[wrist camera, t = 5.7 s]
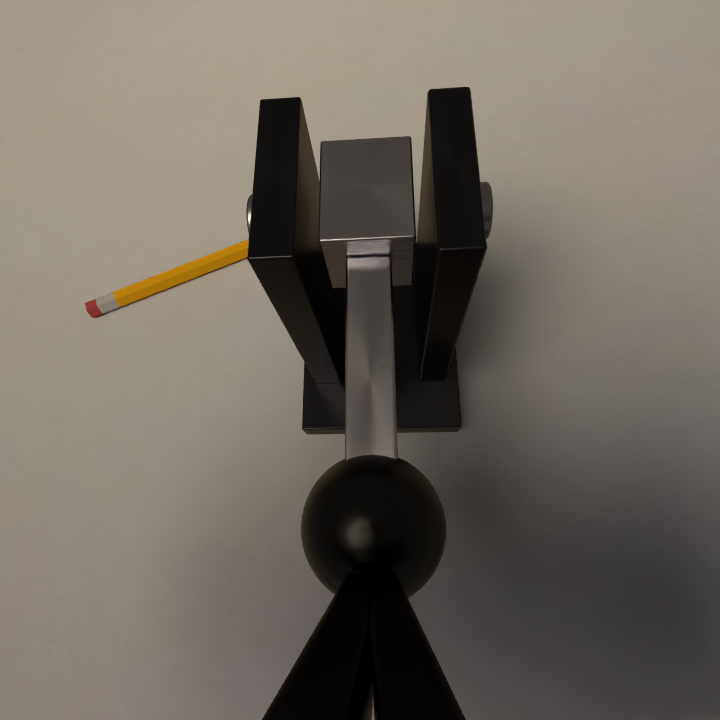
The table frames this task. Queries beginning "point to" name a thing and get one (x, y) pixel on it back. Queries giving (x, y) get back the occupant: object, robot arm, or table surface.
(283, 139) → the bracket
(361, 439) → the ball knob lever
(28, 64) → the table surface
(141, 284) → the pencil
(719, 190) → the table surface
